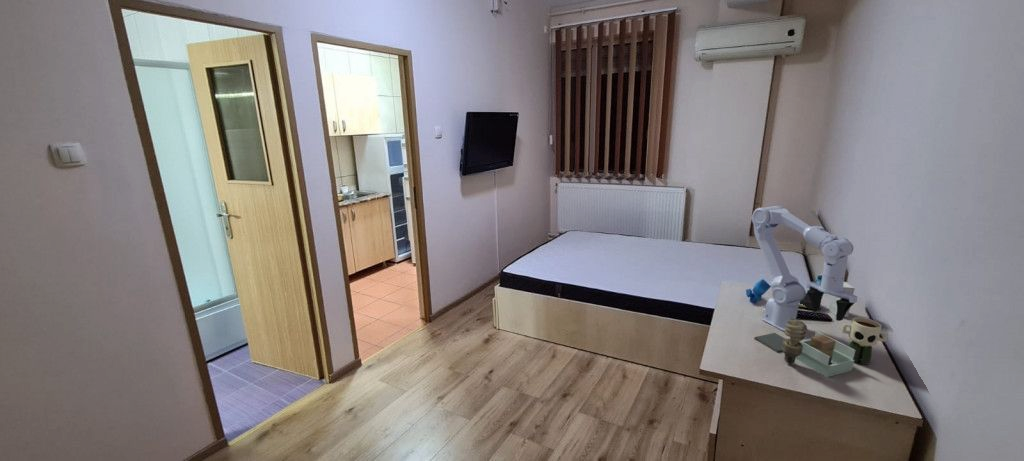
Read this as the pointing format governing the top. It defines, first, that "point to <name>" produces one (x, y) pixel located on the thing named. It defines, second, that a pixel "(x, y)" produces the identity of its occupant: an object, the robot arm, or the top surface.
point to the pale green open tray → (827, 358)
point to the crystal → (757, 291)
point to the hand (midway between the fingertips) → (827, 315)
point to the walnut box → (823, 345)
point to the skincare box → (833, 303)
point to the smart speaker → (806, 301)
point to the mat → (771, 341)
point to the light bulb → (793, 339)
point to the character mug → (864, 337)
